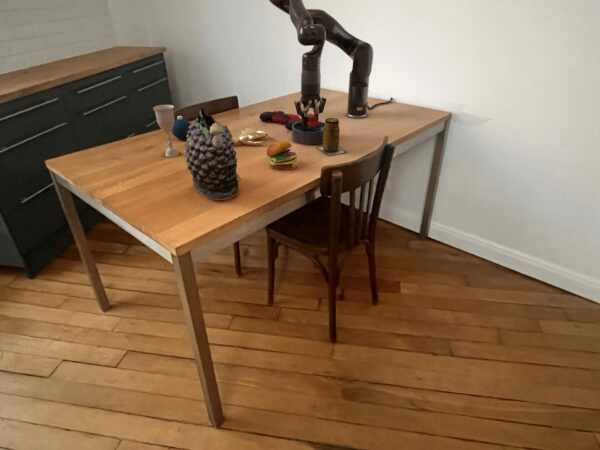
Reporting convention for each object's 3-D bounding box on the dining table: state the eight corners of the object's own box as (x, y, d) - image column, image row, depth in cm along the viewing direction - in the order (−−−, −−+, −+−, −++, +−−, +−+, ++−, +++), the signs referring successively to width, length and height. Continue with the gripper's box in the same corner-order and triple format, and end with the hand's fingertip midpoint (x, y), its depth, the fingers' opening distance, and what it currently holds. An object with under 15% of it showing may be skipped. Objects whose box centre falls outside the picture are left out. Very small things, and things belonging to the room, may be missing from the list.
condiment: (334, 145, 163) (335, 116, 157) (345, 152, 156) (347, 122, 150) (318, 148, 160) (318, 118, 154) (328, 155, 154) (329, 124, 147)
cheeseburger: (289, 173, 140) (282, 145, 135) (265, 174, 146) (258, 147, 141) (304, 163, 147) (298, 136, 143) (280, 164, 153) (274, 138, 149)
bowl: (303, 130, 178) (304, 118, 175) (334, 136, 172) (335, 124, 169) (285, 141, 167) (284, 128, 164) (317, 148, 160) (317, 134, 158)
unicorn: (246, 141, 154) (214, 136, 163) (247, 151, 156) (216, 145, 165) (278, 127, 168) (248, 122, 177) (279, 136, 170) (249, 131, 179)
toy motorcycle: (294, 135, 176) (318, 122, 184) (292, 124, 173) (317, 111, 181) (257, 124, 191) (281, 112, 200) (255, 114, 188) (280, 102, 196)
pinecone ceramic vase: (252, 195, 126) (246, 116, 113) (207, 209, 119) (195, 126, 106) (222, 172, 141) (214, 100, 128) (180, 183, 133) (167, 107, 120)
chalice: (164, 159, 151) (154, 111, 141) (160, 153, 156) (151, 106, 147) (183, 155, 154) (175, 108, 144) (179, 149, 159) (171, 103, 149)
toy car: (300, 124, 169) (300, 114, 166) (309, 122, 170) (310, 112, 168) (310, 130, 163) (310, 119, 160) (319, 128, 164) (320, 117, 162)
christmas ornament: (188, 142, 166) (184, 118, 160) (169, 141, 167) (165, 117, 162) (196, 135, 173) (193, 112, 167) (178, 134, 174) (174, 111, 169)
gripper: (299, 85, 151) (299, 130, 160) (331, 81, 157) (329, 124, 166) (290, 81, 157) (290, 124, 166) (321, 77, 163) (320, 119, 172)
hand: (310, 124), depth 166 cm, fingers closed on toy car, 4 cm apart
